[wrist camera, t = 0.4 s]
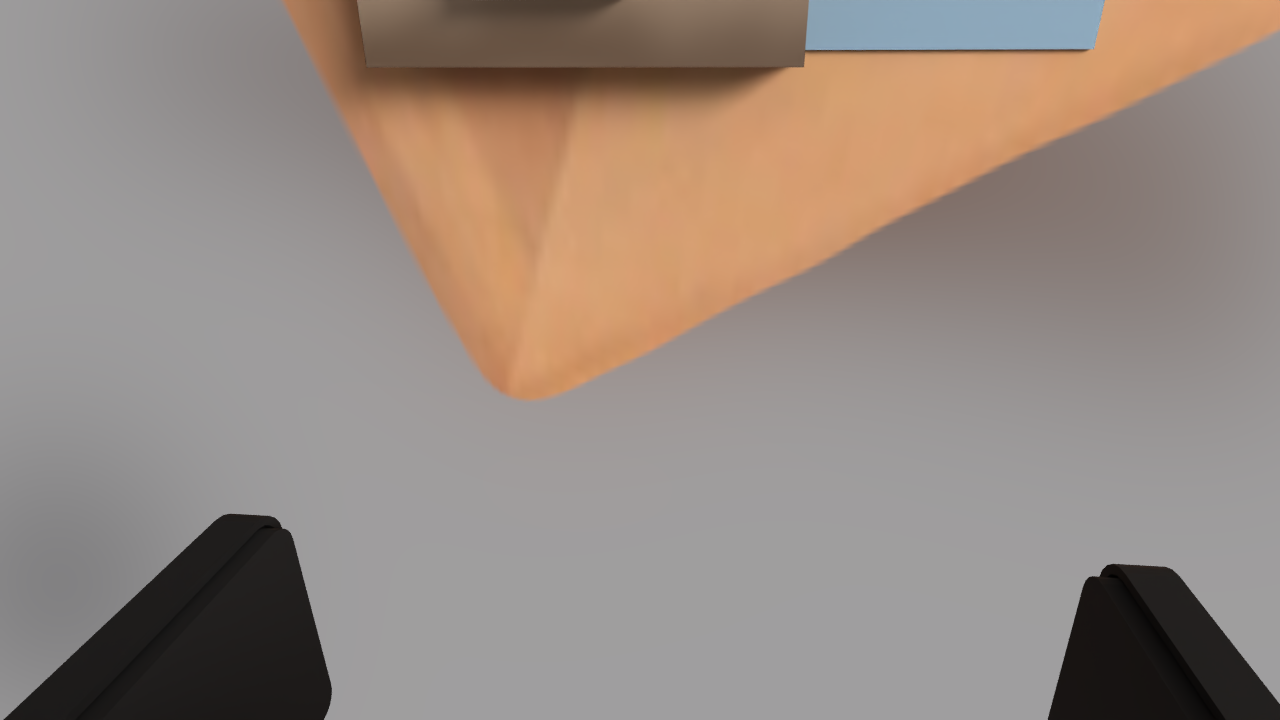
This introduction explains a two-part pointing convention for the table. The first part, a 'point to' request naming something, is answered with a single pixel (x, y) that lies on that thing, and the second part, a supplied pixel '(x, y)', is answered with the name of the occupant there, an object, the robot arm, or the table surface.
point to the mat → (952, 24)
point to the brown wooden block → (584, 33)
